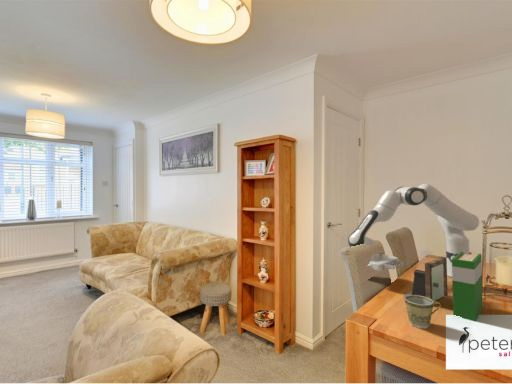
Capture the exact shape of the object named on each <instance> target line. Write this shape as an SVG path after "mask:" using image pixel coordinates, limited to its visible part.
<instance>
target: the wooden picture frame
mask: <svg viewBox="0 0 512 384" xmlns="http://www.w3.org/2000/svg"><path fill="white" fill-rule="evenodd" d="M442 263H443V275H444V296H443V297H448V276H447V257H446V256H441V257H438V258H436V259H433V260H430V261H428V262H426V263H424V271H425V292H426V297H427V298H429V299H431V300H432V268H433V267H435V266H437V265H440V264H442Z"/></svg>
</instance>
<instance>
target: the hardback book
mask: <svg viewBox="0 0 512 384" xmlns="http://www.w3.org/2000/svg"><path fill="white" fill-rule="evenodd" d="M482 259H483V257H482V253H478V254H472V253H471V254H463V252H460V253H459V254H458V255H456V256H455V257H454V258H453V259H452V277H451V278H452V307H453V308H452V310H453V311H452V312H453V315H456V316H460V317H462V318H461V319H464V320H468V321H472V322H476V321H477V320H478V318H479V316H480V314H481V312H482V310H483V308H484V306H483V302H484V301H483V299H484V298H483V266H482V265H483V262H482ZM456 316H455V317H456ZM460 317H459V318H460Z"/></svg>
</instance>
